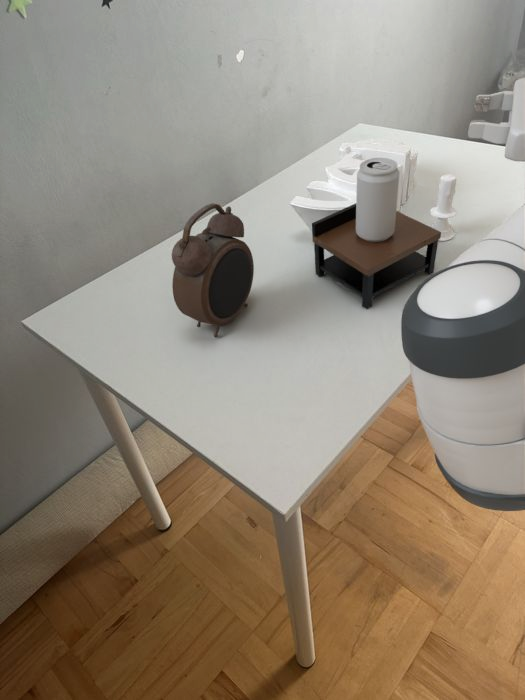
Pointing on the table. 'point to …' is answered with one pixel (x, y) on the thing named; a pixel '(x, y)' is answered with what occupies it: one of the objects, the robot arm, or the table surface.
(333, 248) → the miniature side table
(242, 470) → the table surface
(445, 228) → the candle
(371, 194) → the beverage can
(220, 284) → the alarm clock
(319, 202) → the wavy white extrusion
